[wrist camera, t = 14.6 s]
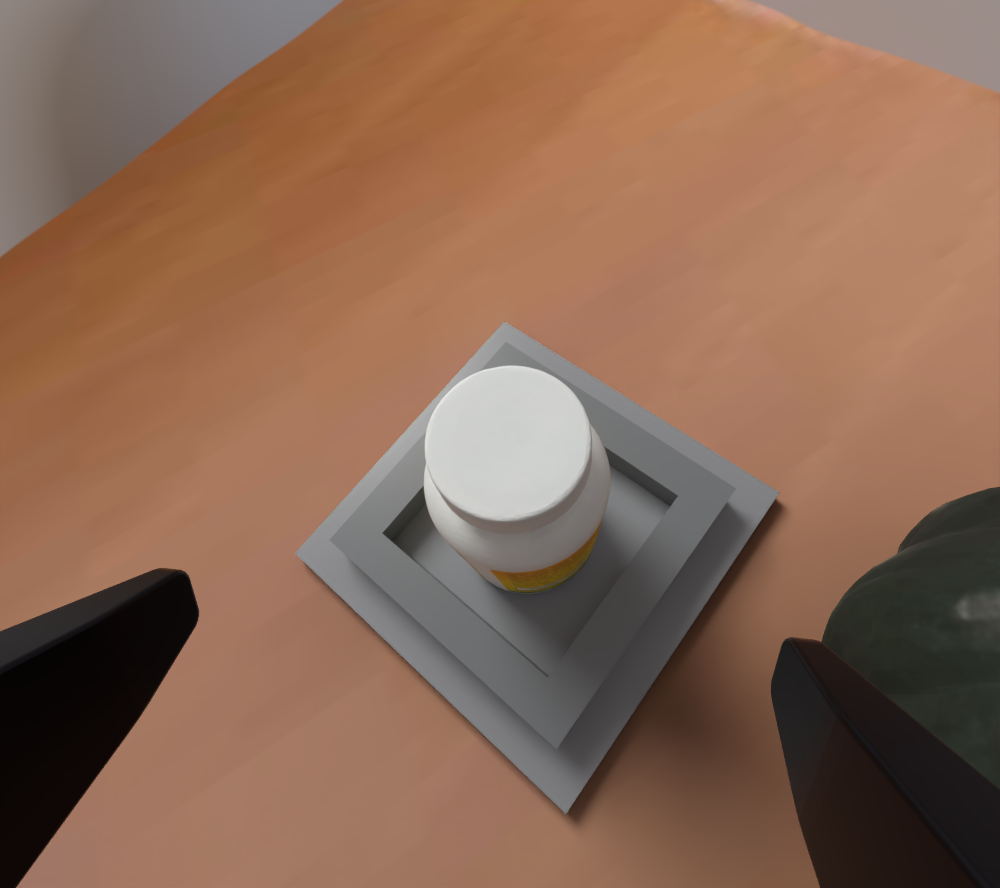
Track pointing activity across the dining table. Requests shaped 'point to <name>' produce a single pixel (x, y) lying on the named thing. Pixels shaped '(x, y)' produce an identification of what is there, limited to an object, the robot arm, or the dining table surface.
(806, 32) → the dining table surface
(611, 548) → the tray
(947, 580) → the squash
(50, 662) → the robot arm
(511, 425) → the supplement bottle
